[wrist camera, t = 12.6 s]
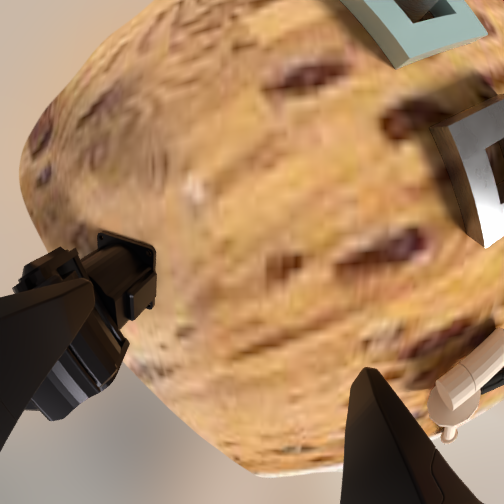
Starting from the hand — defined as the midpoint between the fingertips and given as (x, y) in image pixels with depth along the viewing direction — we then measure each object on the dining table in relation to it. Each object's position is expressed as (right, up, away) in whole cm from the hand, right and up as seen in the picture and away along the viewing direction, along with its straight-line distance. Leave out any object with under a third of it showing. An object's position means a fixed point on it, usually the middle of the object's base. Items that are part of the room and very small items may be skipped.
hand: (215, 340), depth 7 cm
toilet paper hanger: (+28, -15, +15) cm, 36 cm away
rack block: (+12, +21, +3) cm, 24 cm away
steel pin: (+12, +21, +3) cm, 24 cm away
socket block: (+20, +10, +6) cm, 23 cm away
